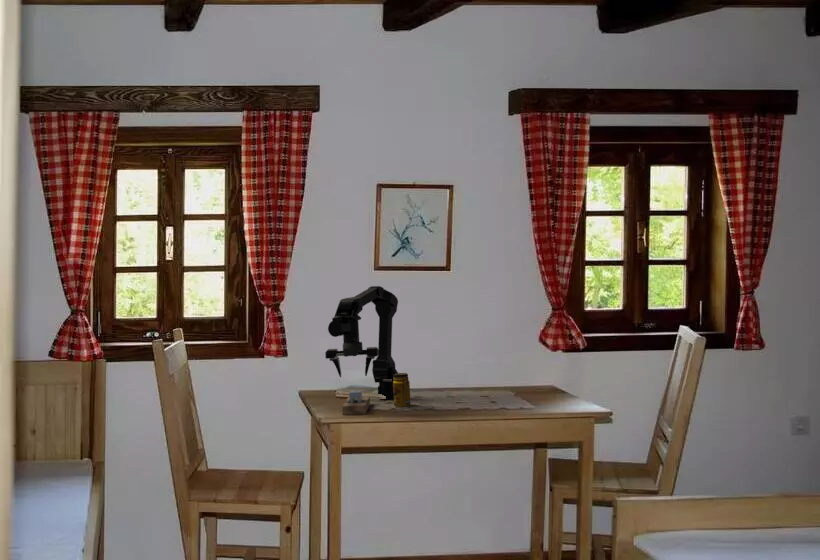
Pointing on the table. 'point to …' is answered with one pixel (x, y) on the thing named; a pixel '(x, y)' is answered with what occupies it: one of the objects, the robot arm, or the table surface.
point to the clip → (355, 396)
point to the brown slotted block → (356, 406)
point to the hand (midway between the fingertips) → (353, 376)
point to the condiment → (401, 391)
